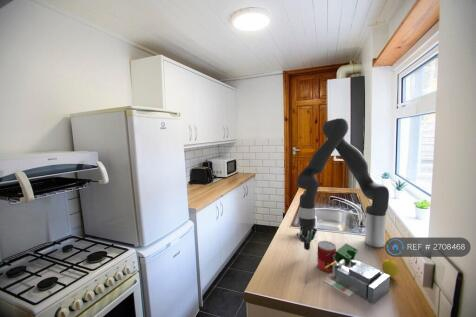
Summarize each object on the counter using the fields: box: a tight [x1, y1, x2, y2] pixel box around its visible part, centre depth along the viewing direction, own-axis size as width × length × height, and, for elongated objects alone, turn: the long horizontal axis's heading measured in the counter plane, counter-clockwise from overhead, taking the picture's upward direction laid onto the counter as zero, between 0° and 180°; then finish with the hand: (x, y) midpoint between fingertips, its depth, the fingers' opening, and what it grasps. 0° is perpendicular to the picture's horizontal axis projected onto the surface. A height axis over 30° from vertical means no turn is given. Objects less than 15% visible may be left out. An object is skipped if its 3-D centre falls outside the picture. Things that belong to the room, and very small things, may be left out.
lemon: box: [381, 258, 399, 278], centre depth 97 cm, size 6×6×8 cm
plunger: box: [325, 259, 350, 278], centre depth 96 cm, size 14×8×7 cm, turn 124°
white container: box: [313, 215, 318, 240], centre depth 138 cm, size 9×9×12 cm
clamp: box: [336, 243, 358, 265], centre depth 111 cm, size 12×6×9 cm, turn 126°
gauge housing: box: [335, 258, 391, 305], centre depth 92 cm, size 12×14×8 cm
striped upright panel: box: [323, 277, 355, 297], centre depth 92 cm, size 3×11×1 cm, turn 34°
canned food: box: [317, 240, 337, 273], centre depth 105 cm, size 8×8×11 cm
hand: (306, 249), depth 114 cm, fingers closed
